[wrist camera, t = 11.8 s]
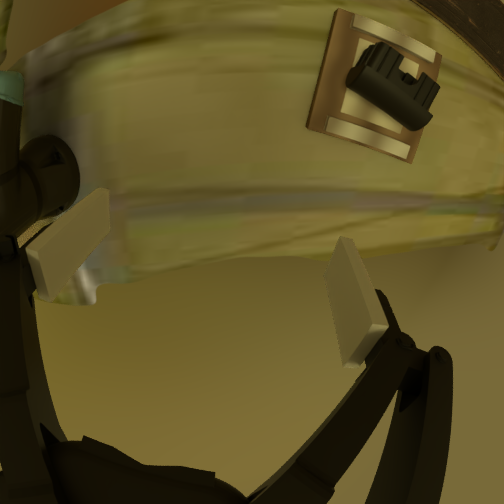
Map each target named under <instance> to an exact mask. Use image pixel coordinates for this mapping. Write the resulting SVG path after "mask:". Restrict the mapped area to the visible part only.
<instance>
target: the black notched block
mask: <svg viewBox="0 0 504 504" xmlns="http://www.w3.org/2000/svg"><path fill="white" fill-rule="evenodd" d="M403 59H404V56H403V55H402V54H400V53H399V52H398V51H396V50H395V49H394V48H392V47H391V46H389V45H388V44H386V43H385V42H376V44H375V45H374V44H372V45H369V47H368V48H366V49H365V50H364V51H363V53H362V55H361V56H360V58H359V60H358V62H357V63H356V65H355V67H352V68H351V69H350V71H349V73H348V75H347V77H346V81H345V85H346V87H347V88H349V89H350V90H352V91H353V92H355V93H357V94H358V95H360V96H361V97H363V98H364V99H366V100H367V101H369V102H370V103H372V104H373V105H375V106H376V107H378V108H379V109H381V110H382V111H383V112H385V113H386V114H388V115H389V116H390V117H392V118H393V119H395V120H396V121H397V122H399V123H400V124H401V125H403V126H404V127H405V128H406V129H408V130H409V131H418V130H420V129H422V128H423V127H424V126H426V125H427V124H428V122H429V121H430V120H431V118H432V117H433V115H432V114H431V113H430V112H428V109H429V108H430V106H431V104H432V102H433V100H434V98H435V97H436V95H437V93H438V91H439V89H440V86H439V85H438V84H437V83H436V82H435V81H434V80H433V79H431V78H430V77H429V76H428V75H427V74H426V73H424V72H422V73H421V75H420V77H419V79H418V80H417V79H416V78H414V77H413V76H412V75H411V74H409V73H408V72H406V73H404V72H403V71H402V70H400V69H399V66H400V65H401V63H402V61H403Z"/></svg>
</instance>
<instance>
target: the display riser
mask: <svg viewBox="0 0 504 504" xmlns="http://www.w3.org/2000/svg"><path fill="white" fill-rule="evenodd" d="M376 42H385V43H386V44H388V45H389V46H391V47H392V48H394V49H395V50H396V51H398V52H399V53H400V54H402V55H403V56H404V59H403V61H402V63H401V65H400V66H399V69H400V70H402V71H403V72H404V73H406V72H408V73H409V74H411V75H412V76H413V77H414V78H416V79H417V80H418V79H419V77H420V75H421V73H422V72H424V73H426V74H427V75H428V76H429V77H430V78H431V79H433V80H434V81H435V82H436V81H437V77H438V72H439V68H440V63H441V59H442V55H441V54H439V53H437V52H436V51H434V50H433V49H431V48H429V47H427V46H426V45H424V44H422V43H420V42H418V41H416V40H414V39H413V38H411V37H409V36H407V35H405V34H403V33H400V32H398V31H396V30H394V29H392V28H390V27H388V26H385V25H383V24H381V23H378V22H376V21H374V20H371V19H369V18H366V17H363V16H361V15H358V14H354V13H351V12H349V11H346V10H343V9H340V8H338V9H337V10H336V11H335V12H334V16H333V20H332V24H331V28H330V32H329V36H328V41H327V45H326V49H325V53H324V57H323V61H322V65H321V69H320V73H319V77H318V80H317V84H316V88H315V92H314V96H313V100H312V104H311V108H310V111H309V115H308V119H307V123H306V128H307V129H310V130H314V131H317V132H321V133H324V134H328V135H331V136H334V137H338V138H341V139H344V140H347V141H350V142H353V143H356V144H359V145H362V146H365V147H368V148H371V149H374V150H376V151H379V152H382V153H384V154H387V155H390V156H392V157H395V158H397V159H400V160H402V161H405V162H407V163H410V164H412V162H413V159H414V156H415V153H416V150H417V147H418V144H419V141H420V138H421V135H422V132H423V128H424V127H423V128H422V129H420V130H418V131H409V130H408V129H406V128H405V127H404V126H403V125H401V124H400V123H399V122H397V121H396V120H395V119H393V118H392V117H390V116H389V115H388V114H386V113H385V112H383V111H382V110H381V109H379V108H378V107H376V106H375V105H373V104H372V103H370V102H369V101H367V100H366V99H364V98H363V97H361V96H360V95H358V94H357V93H355V92H353V91H352V90H350V89H349V88H347V87H346V85H345V81H346V77H347V75H348V73H349V71H350V69H351V68H352V67H355V65H356V63H357V62H358V60H359V58H360V56H361V55H362V53H363V51H364V50H365V49H366V48H368V47H369V45H372V44H374V45H375V44H376ZM428 112H429V109H428Z"/></svg>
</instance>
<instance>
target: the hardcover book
mask: <svg viewBox="0 0 504 504" xmlns="http://www.w3.org/2000/svg"><path fill="white" fill-rule="evenodd" d="M412 1H413V2H415V3H416V4H418V5H419V6H420V7H422V8H423V9H425V10H426V11H427V12H429V13H430V14H432V15H433V16H434V17H436V18H437V19H438V20H439V21H441V22H442V23H443V24H445V25H446V26H447V27H448V28H449V29H451V30H452V31H453V32H454V33H455V34H457V35H458V36H459V37H460V38H461V39H462V40H463V41H465V42H466V43H467V44H468V45H469V46H470V47H471V48H472V49H473V50H474V51H475V52H476V53H477V54H479V55H480V56H481V57H482V58H483V59H484V60H485V61H486V62H487V64H488V65H489V66H490V67H491V68H492V69H493V70H494V71H495V72H496V73H497V74H498V75H499V76H500V77H501V79H502V80H503V81H504V4H503V3H502V2H501V1H500V0H412Z"/></svg>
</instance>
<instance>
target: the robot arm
mask: <svg viewBox="0 0 504 504" xmlns="http://www.w3.org/2000/svg"><path fill="white" fill-rule="evenodd" d="M23 91H24V78H23V76H22V74H21V73H19V72H16V71H0V463H1V466H2V471H0V504H327V502H328V501H329V500H330V499H331V497H332V496H333V494H334V492H335V490H334V487H335V485H336V483H337V482H338V481H339V479H340V478H341V477H342V475H343V474H344V473H345V472H346V470H347V469H348V467H349V466H350V465H351V463H352V462H353V461H354V459H355V458H356V456H357V455H358V454H359V452H360V451H361V449H362V448H363V446H364V445H365V443H366V441H367V440H368V439H369V437H370V435H371V434H372V432H373V431H374V429H375V428H376V426H377V424H378V423H379V421H380V419H381V418H382V416H383V414H384V413H385V411H386V409H387V407H388V405H389V404H390V402H391V400H392V398H393V396H394V395H395V393H396V391H397V390H398V393H397V398H396V403H395V408H394V412H393V416H392V420H391V424H390V428H389V432H388V436H387V439H386V443H385V446H384V450H383V453H382V456H381V460H380V463H379V466H378V469H377V472H376V475H375V478H374V481H373V483H372V486H371V489H370V492H369V494H368V497H367V499H366V502H365V504H439V501H440V496H441V492H442V487H443V482H444V476H445V471H446V465H447V458H448V451H449V443H450V434H451V422H452V403H453V402H452V401H453V364H452V363H453V362H452V358H451V356H450V354H449V353H448V351H447V350H445V349H444V348H442V347H439V346H434V347H432V348H431V349H430V350H429V352H426V351H423V350H420V349H418V348H416V345H415V342H414V341H413V339H412V338H411V337H410V336H409V335H407V334H405V333H404V332H401V330H400V328H399V325H398V323H397V320H396V318H395V316H394V313H392V308H391V307H390V304H389V302H388V299H387V297H386V296H385V295H384V294H383V293H382V291H381V290H377V289H374V287H373V285H372V282H371V280H370V278H369V275H368V273H367V271H366V268H365V266H364V264H363V262H362V259H361V257H360V255H359V253H358V251H357V248H356V246H355V244H354V242H353V240H352V239H350V238H346V237H342V236H340V237H339V239H338V242H337V244H336V247H335V249H334V252H333V254H332V257H331V259H330V262H329V264H328V266H327V269H326V271H325V273H324V279H325V283H326V288H327V292H328V297H329V301H330V306H331V310H332V315H333V320H334V324H335V329H336V334H337V339H338V344H339V349H340V354H341V359H342V365H343V367H347V368H359V367H360V365H361V364H362V363H363V361H364V360H365V364H366V368H365V370H364V371H363V372H362V373H361V375H360V376H359V377H358V378H357V379H356V382H355V383H354V385H353V386H352V387H351V388H350V390H349V391H348V392H347V394H346V395H345V396H344V398H343V399H342V400H341V401H340V403H339V404H338V405H337V406H336V408H335V409H334V410H333V411H332V412H331V414H330V415H329V416H328V417H327V418H326V420H325V421H324V422H323V423H322V424H321V425H320V427H319V428H318V429H317V430H316V431H315V432H314V433H313V435H312V436H311V437H310V438H309V439H308V440H307V441H306V442H305V443H304V444H303V445H302V446H301V448H300V449H299V450H298V451H297V452H296V453H295V454H294V455H293V456H292V457H291V458H290V459H289V460H288V461H287V462H286V463H285V464H284V465H283V466H282V467H281V468H280V469H279V470H278V471H277V472H276V473H275V474H274V475H272V476H271V477H270V479H268V480H267V481H266V482H264V483H263V484H262V485H261V486H259V487H258V488H257V489H256V490H255V491H254V492H252V493H251V494H250V495H249V496H248V497H245V496H244V495H243V494H242V493H241V492H240V491H238V490H237V489H236V488H234V487H233V486H231V485H230V484H228V483H226V482H224V481H222V480H220V479H217V478H215V472H211V471H205V470H199V469H194V468H189V467H183V466H153V465H143V464H141V463H140V462H138V461H136V460H134V459H132V458H131V457H129V456H127V455H126V454H124V453H122V452H121V451H119V450H118V449H116V448H114V447H113V446H110V445H107V444H104V443H102V442H99V441H97V440H94V439H92V438H89V437H87V436H83V438H82V441H68V440H67V438H66V436H65V434H64V432H63V431H62V429H61V427H60V425H59V422H58V419H57V416H56V413H55V409H54V406H53V402H52V399H51V395H50V391H49V388H48V383H47V379H46V374H45V370H44V365H43V360H42V355H41V350H40V344H39V337H38V330H37V324H36V323H37V322H36V314H35V304H34V297H33V294H32V293H33V292H34V291H35V289H37V292H38V295H39V298H41V299H43V300H46V301H48V302H52V301H53V300H54V298H55V297H56V296H57V294H58V293H59V292H60V291H61V289H62V288H63V287H64V285H65V284H66V283H67V282H68V280H69V279H70V278H71V277H72V275H73V274H74V273H75V272H76V270H77V269H78V268H79V267H80V266H81V264H82V263H83V262H84V261H85V260H86V258H87V257H88V256H89V255H90V254H91V253H92V251H93V250H94V249H95V248H96V247H97V246H98V244H99V243H100V242H101V241H102V240H103V239H104V238H105V237H106V236H107V234H108V233H109V232H110V210H109V189H105V188H97V189H96V190H94V191H93V192H91V193H90V194H89V195H87V196H86V197H85V198H84V199H82V200H81V201H80V202H78V203H77V204H76V205H75V206H73V207H72V208H71V209H70V210H68V211H67V212H66V213H65V214H63V215H62V216H61V217H60V218H59V219H57V220H56V221H55V222H54V223H53V222H52V223H50V224H48V225H46V226H44V227H43V228H42V229H41V230H39V231H38V233H36V234H35V235H34V236H33V237H31V238H30V239H29V240H28V241H27V242H26V243H25V244H24V245H23V246H22V247H21V248H19V246H18V242H17V238H18V237H19V236H20V235H21V234H22V233H23V232H25V231H26V230H27V229H28V228H29V227H30V226H31V225H33V224H34V223H35V222H36V221H39V220H43V219H46V218H50V217H54V216H57V215H59V214H61V213H63V212H64V211H65V210H67V209H68V208H69V207H70V206H71V205H72V204H73V203H74V201H75V199H76V197H77V194H78V190H79V170H78V165H77V162H76V159H75V157H74V155H73V153H72V151H71V150H70V148H69V147H68V146H67V144H66V143H65V142H64V141H62V140H61V139H60V138H58V137H56V136H53V135H42V136H40V137H37V138H35V139H32V140H31V141H29V142H28V143H27V144H26V145H25V146H24V147H23V148H22V149H21V150H20V151H19V145H20V126H21V115H22V106H24V103H23Z"/></svg>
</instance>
